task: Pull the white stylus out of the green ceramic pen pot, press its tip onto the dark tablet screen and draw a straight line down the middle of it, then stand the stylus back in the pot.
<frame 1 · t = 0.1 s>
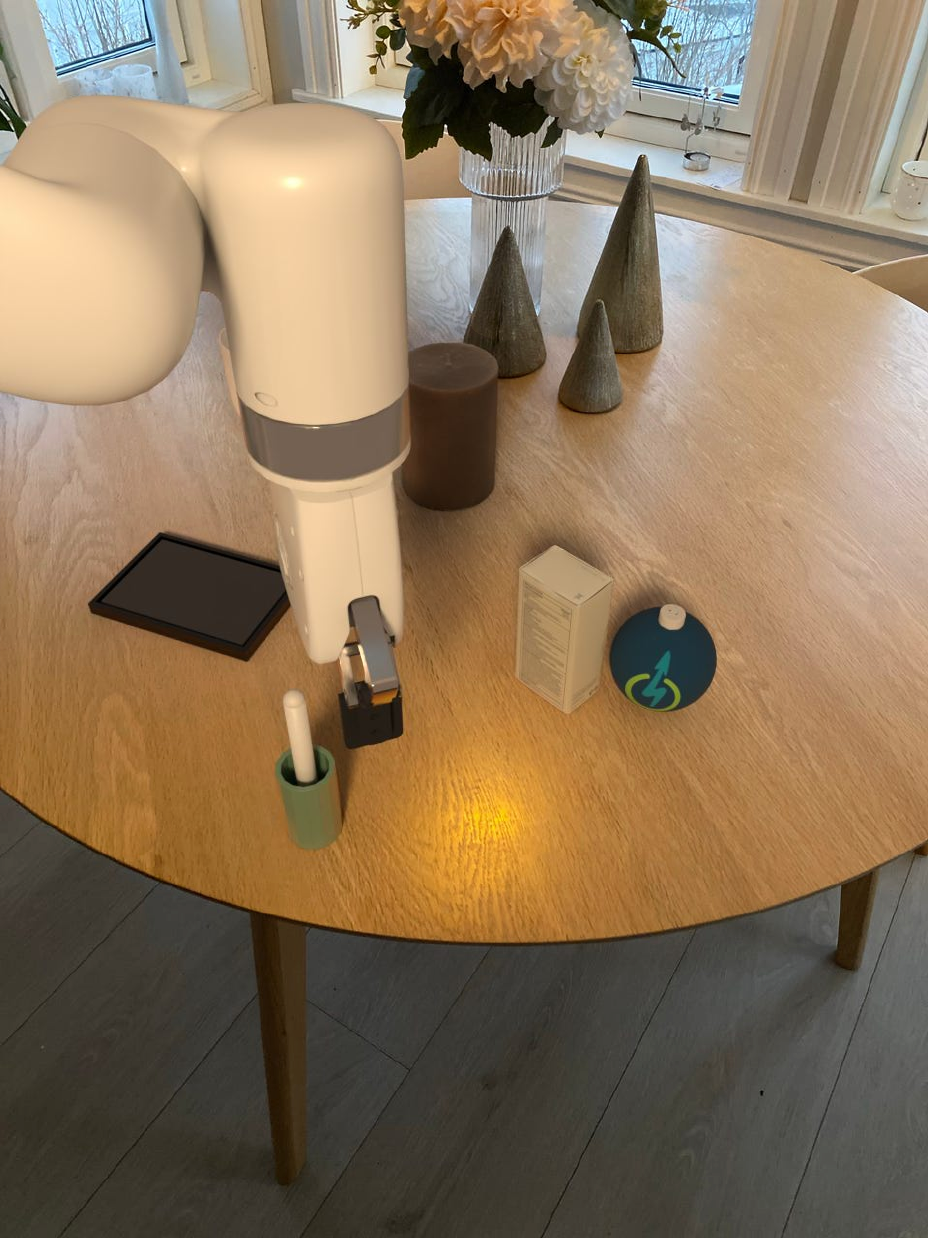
hand: (351, 676, 55), 19 cm above the table, tool pointing down, fingers open, 9 cm apart
pillar candle: (447, 484, 101), on the table
mug: (288, 434, 107), on the table
pen pot: (314, 826, 70), on the table
cosmetic box: (554, 685, 80), on the table
screen: (200, 590, 86), point 1 cm above the table, slide at 0.1 cm
apple: (274, 314, 128), on the table
stylus: (314, 822, 69), resting on pen pot
christmas ornament: (654, 695, 79), on the table
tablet: (201, 597, 87), on the table
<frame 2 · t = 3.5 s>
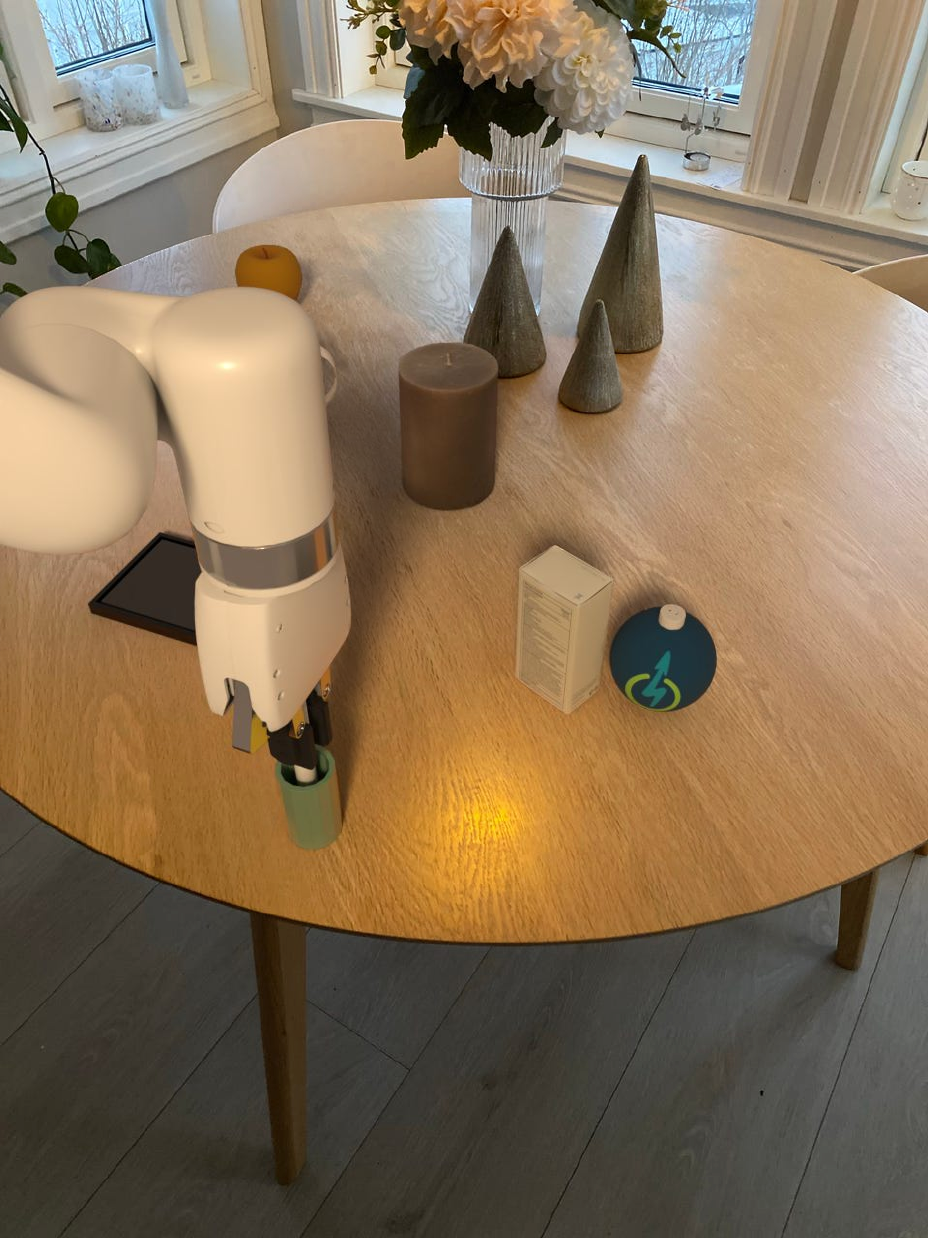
hand: (301, 748, 63), 9 cm above the table, tool pointing down, fingers closed on stylus, 1 cm apart
stylus: (314, 822, 69), resting on pen pot, touching gripper
everything else where it was.
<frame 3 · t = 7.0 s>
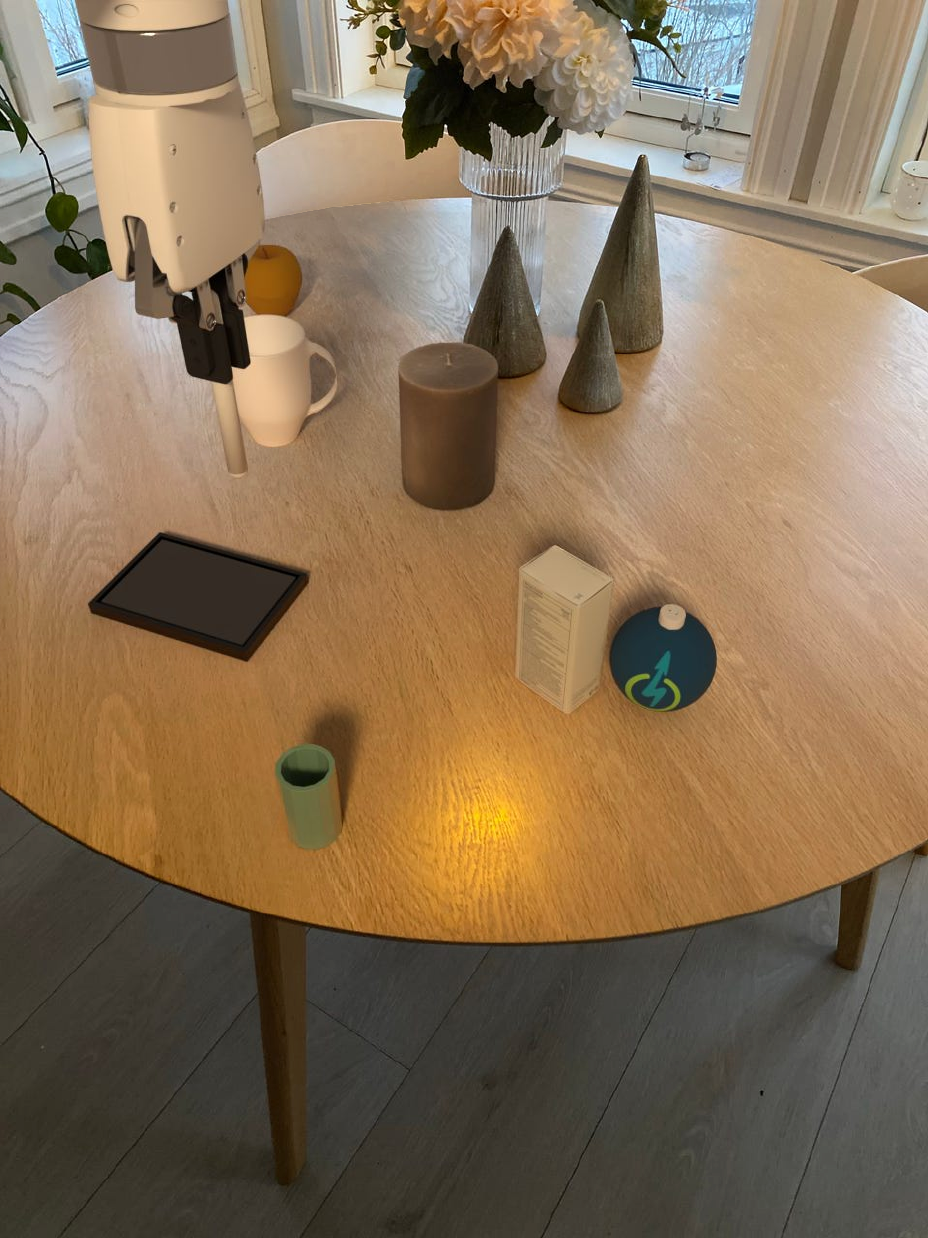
hand: (219, 369, 63), 27 cm above the table, tool pointing down, fingers closed on stylus, 1 cm apart
stylus: (239, 476, 69), point 19 cm above the table, touching gripper
everything else where it was.
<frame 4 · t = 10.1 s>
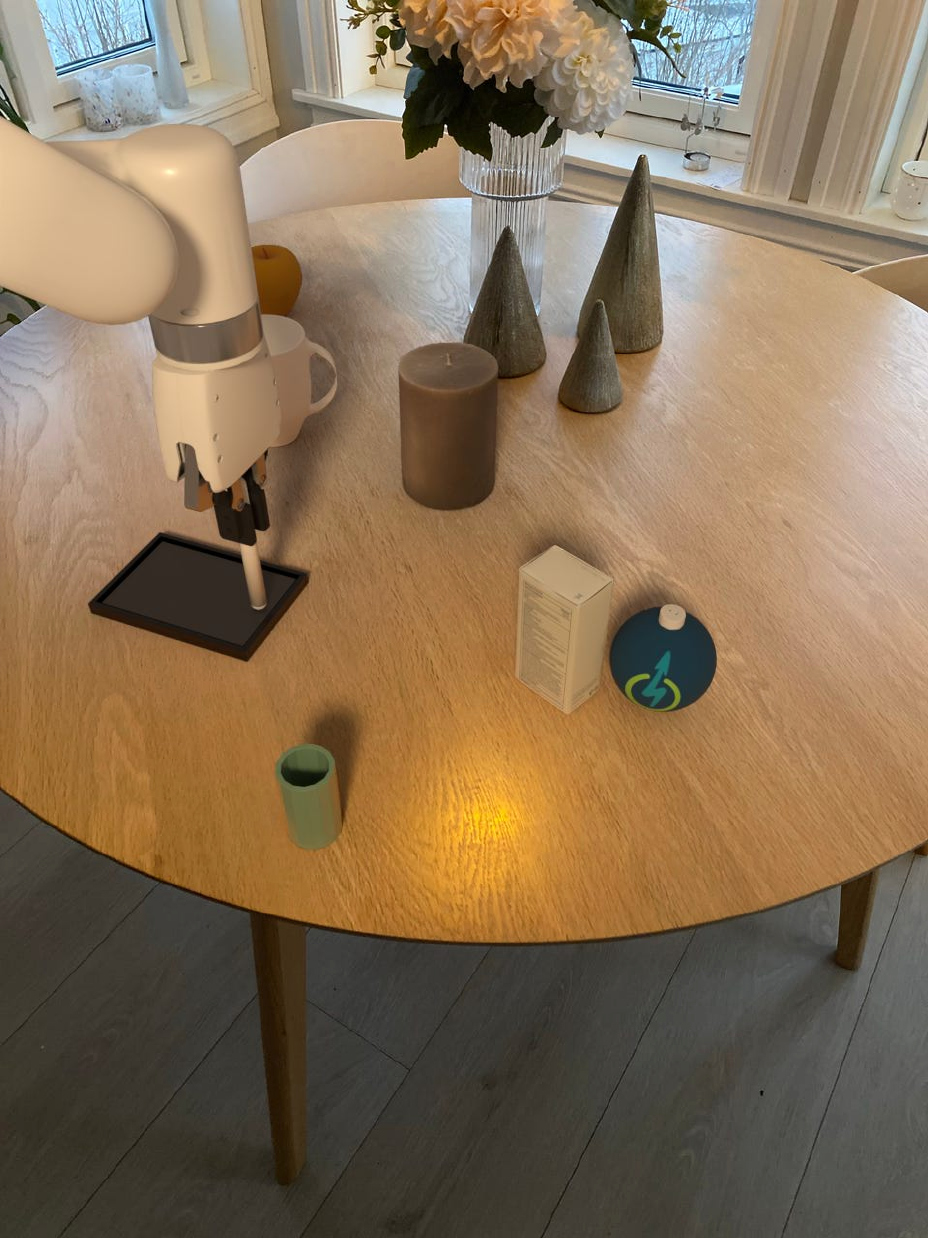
hand: (245, 532, 79), 9 cm above the table, tool pointing down, fingers closed on stylus, 1 cm apart
screen: (200, 591, 87), point 1 cm above the table, slide at -0.1 cm, touching stylus
stylus: (259, 607, 85), point 1 cm above the table, touching gripper, screen
everything else where it was.
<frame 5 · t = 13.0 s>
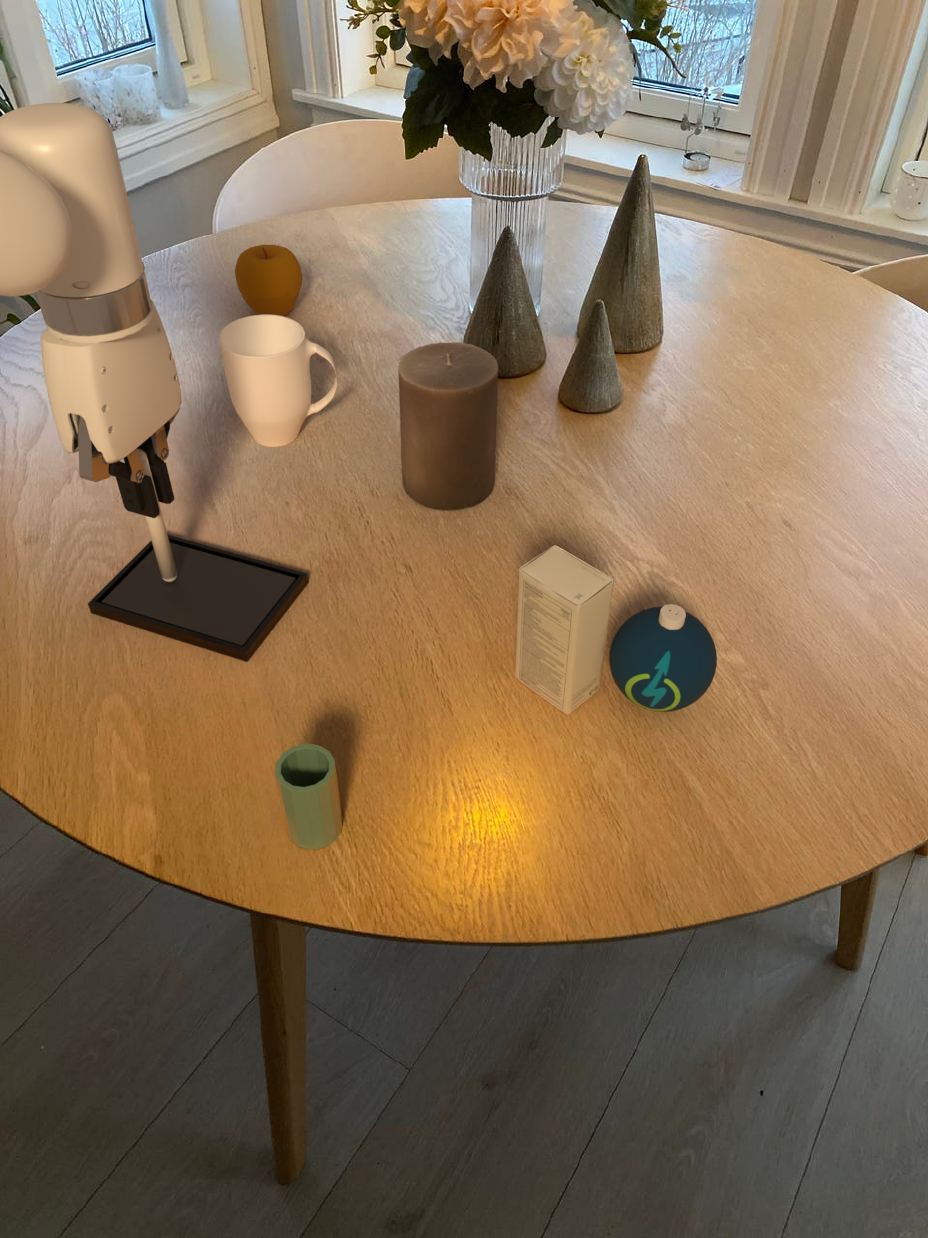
hand: (150, 504, 81), 10 cm above the table, tool pointing down, fingers closed on stylus, 1 cm apart
stylus: (170, 580, 87), point 1 cm above the table, touching gripper, screen
everything else where it was.
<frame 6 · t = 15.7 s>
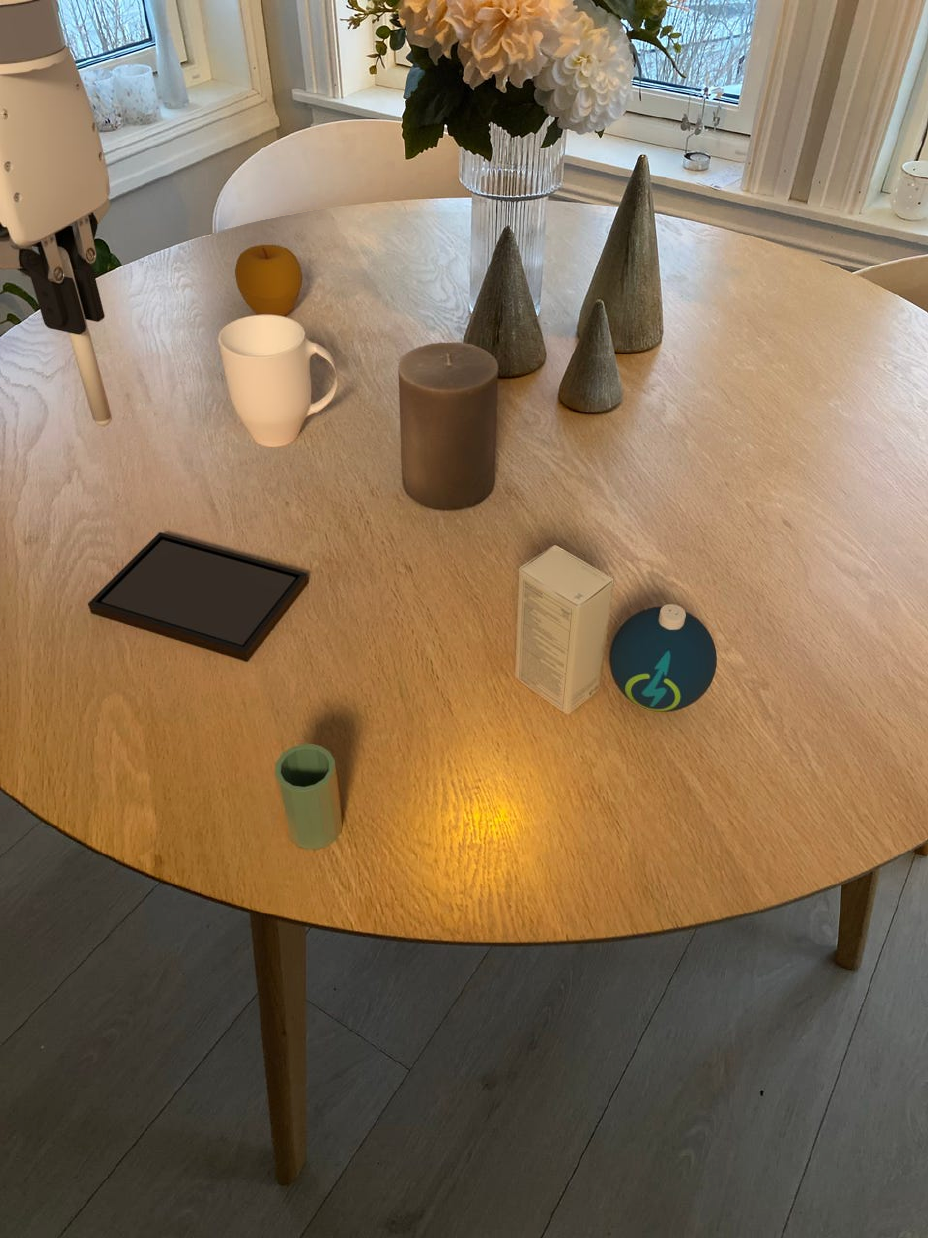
hand: (75, 321, 69), 26 cm above the table, tool pointing down, fingers closed on stylus, 1 cm apart
screen: (200, 590, 86), point 1 cm above the table, slide at 0.1 cm
stylus: (104, 424, 75), point 18 cm above the table, touching gripper
everything else where it was.
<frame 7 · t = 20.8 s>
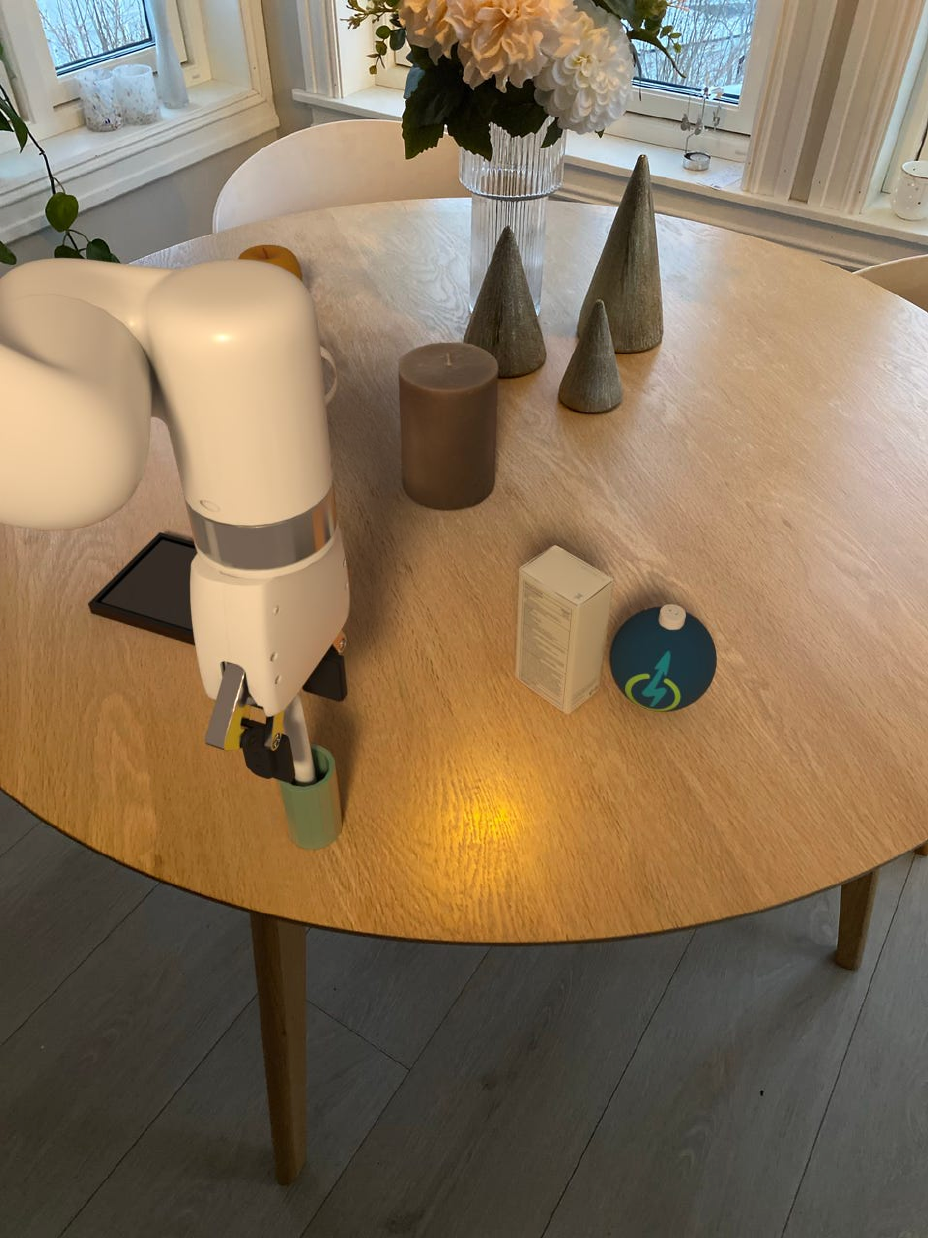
hand: (299, 730, 62), 11 cm above the table, tool pointing down, fingers open, 6 cm apart
stylus: (314, 823, 69), resting on pen pot
everything else where it was.
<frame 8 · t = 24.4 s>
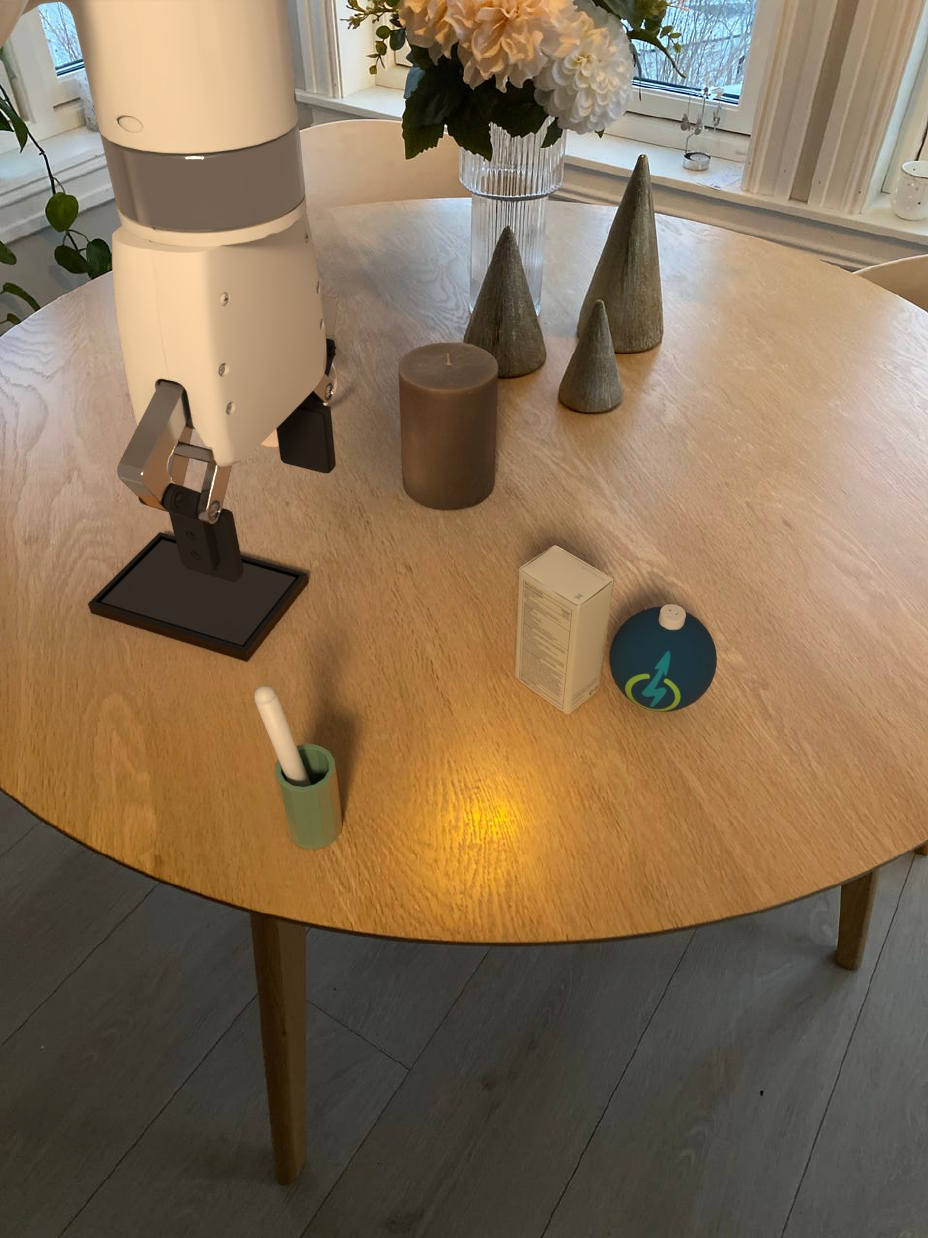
hand: (264, 515, 50), 28 cm above the table, tool pointing down, fingers open, 9 cm apart
stylus: (314, 822, 69), point 1 cm above the table, tilted 9°, touching pen pot
everything else where it was.
at the end: screen pushed in 0.2 cm at the most during the clip, back to where it started at the end; stylus 0.1 cm off-centre in the pen pot, point 0.5 cm above the pen pot's base; stylus tilted 9° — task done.
